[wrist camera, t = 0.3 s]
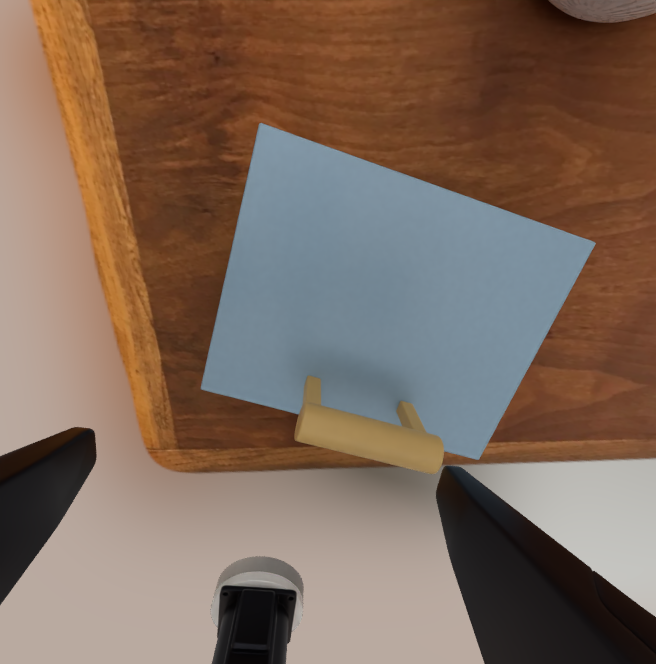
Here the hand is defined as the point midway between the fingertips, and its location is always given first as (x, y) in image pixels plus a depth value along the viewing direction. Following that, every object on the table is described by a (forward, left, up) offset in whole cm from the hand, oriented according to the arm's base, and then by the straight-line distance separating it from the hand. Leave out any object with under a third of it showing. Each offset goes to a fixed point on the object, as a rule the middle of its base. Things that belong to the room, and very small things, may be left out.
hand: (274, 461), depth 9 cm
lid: (+2, -4, -9) cm, 10 cm away
